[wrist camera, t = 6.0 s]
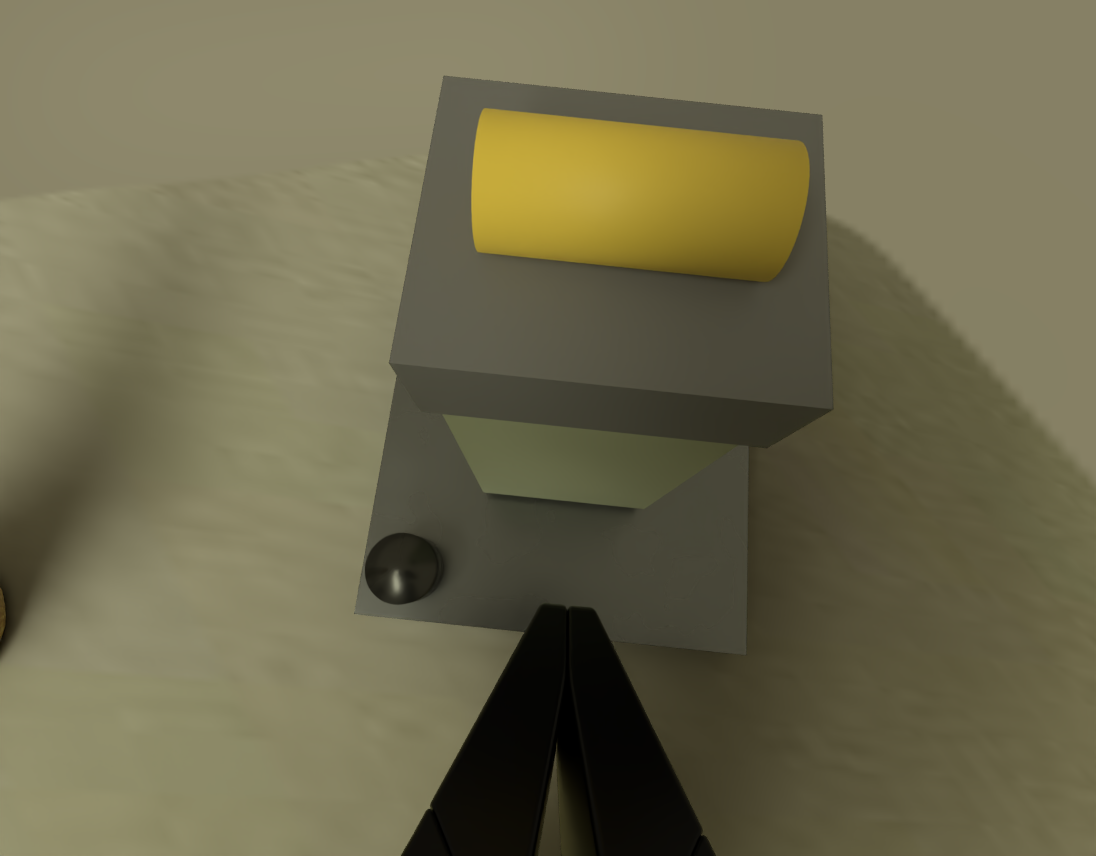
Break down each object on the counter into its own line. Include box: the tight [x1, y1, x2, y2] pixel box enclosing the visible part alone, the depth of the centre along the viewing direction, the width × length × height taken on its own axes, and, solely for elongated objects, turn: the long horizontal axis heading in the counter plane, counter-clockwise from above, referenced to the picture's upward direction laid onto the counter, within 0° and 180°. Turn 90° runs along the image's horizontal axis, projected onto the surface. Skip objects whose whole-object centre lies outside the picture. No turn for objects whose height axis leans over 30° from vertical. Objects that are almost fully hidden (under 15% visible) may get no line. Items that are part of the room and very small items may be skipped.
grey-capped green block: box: [389, 76, 833, 509], centre depth 12 cm, size 4×5×12 cm
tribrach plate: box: [354, 376, 749, 655], centre depth 19 cm, size 12×12×3 cm
